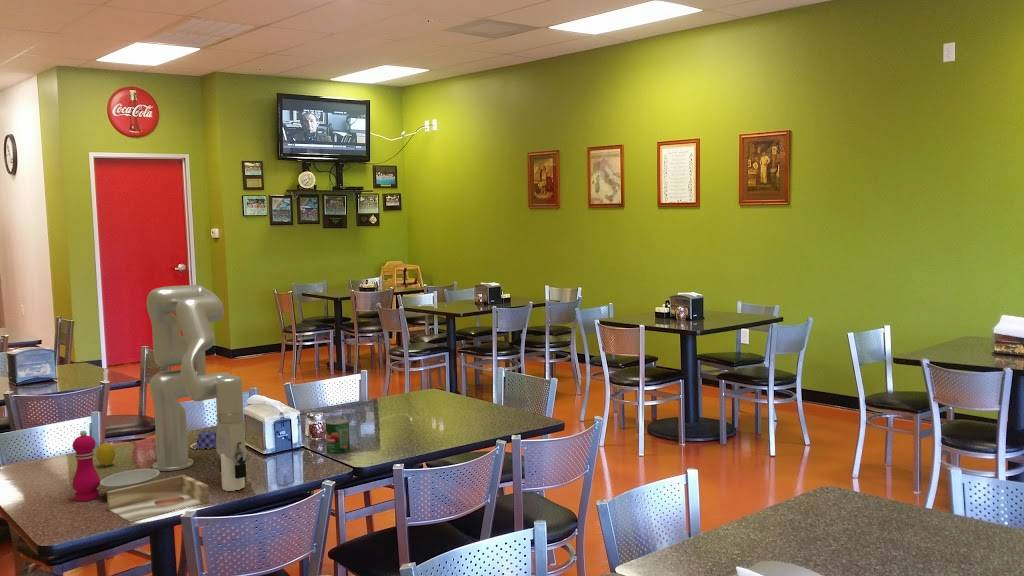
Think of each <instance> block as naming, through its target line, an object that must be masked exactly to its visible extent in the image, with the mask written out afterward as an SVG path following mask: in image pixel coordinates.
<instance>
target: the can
mask: <svg viewBox="0 0 1024 576" xmlns="http://www.w3.org/2000/svg"><path fill="white" fill-rule="evenodd" d="M236 455H237V454H236ZM239 459H240V457H239V458H238V460H239ZM235 465H236V463H235V460H234V458H231V459H229V458H227V457H225V455H224V454H223V453H222V454H221V472H220V473H221V489H222V491H224V490H225V492H227V491H233V492H236V491H235V490H239V491H241V490H240V489H242V488H243V489H244V488H245V487H246V486H245V485H246V484H245V477H243V478H238V479H236V478H235ZM243 489H242V490H243Z"/></svg>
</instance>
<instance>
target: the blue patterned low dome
mask: <svg viewBox="0 0 1024 576" xmlns="http://www.w3.org/2000/svg"><path fill="white" fill-rule="evenodd" d="M195 444H196V447H198V449H199V448H203V449H204V448H207V449H206V450H209V449H210V448H209V447H214V448H213V449H216V447H215V446H216V431H215V430H204V431H200V432H199V433H198V435H197V439H196V442H195V443H192V444H191V445H190V446H189V447H190V448H191V449H195V450H197V449H196V448H193V447H192V446H193V445H195ZM210 450H211V449H210Z"/></svg>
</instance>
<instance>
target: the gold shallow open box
mask: <svg viewBox="0 0 1024 576" xmlns="http://www.w3.org/2000/svg"><path fill="white" fill-rule="evenodd" d="M209 493H210V492H209V485H208V484H206V483H203V482H201V481H200V480H197V479H195V478H193V477H190V476H188V475H186V474H180V475H175V476H170V477H167V478H162V479H158V480H154V481H152V482H148V483H144V484H139V485H135V486H130V487H126V488H121V489H117V490H112V491H110V490H108V491H106V501H107V510H108V511H110V512H112V513H113V514H115V515H117V516H119V517H120V518H121V519H123V520H125V521H127V522H129V523H134V522H138V521H143V520H145V519H150V518H154V517H157V516H158V517H159V516H161V515H166V514H169V512H170V513H173V512H172V511H174V512H176V511H175V510H178V509H182V508H186V507H190V506H194V507H196V506H195V505H197V506H201V505H205V504H209V503H210V499H209V497H210V496H209ZM208 502H209V503H208ZM204 503H205V504H204ZM200 504H201V505H200ZM190 508H191V507H190ZM186 509H187V508H186ZM182 510H183V509H182ZM178 511H179V510H178ZM165 513H166V514H165Z"/></svg>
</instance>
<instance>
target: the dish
mask: <svg viewBox="0 0 1024 576" xmlns="http://www.w3.org/2000/svg"><path fill="white" fill-rule="evenodd" d="M160 473H161V471H159V470H156V469H153V468H138V469H131V470H125V471H120V472H117V473H113V474H111V475H108V476H106V477H104V478H102V479H100V485H99V486H103V487H105V488H106V490H108V491H112V490H117V489H121V488H126V487H130V486H135V485H139V484H144V483H148V482H152V481H155V480H156V478H157V477H158V476H159V475H160Z"/></svg>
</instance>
